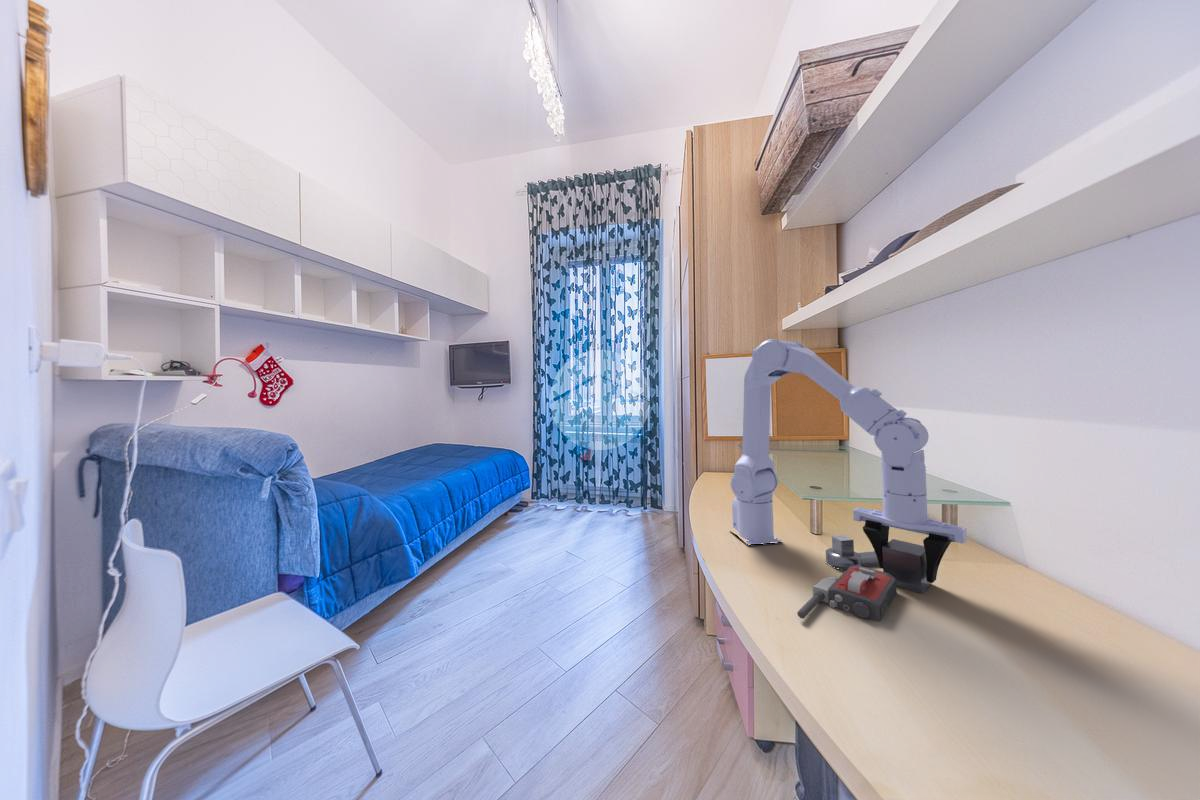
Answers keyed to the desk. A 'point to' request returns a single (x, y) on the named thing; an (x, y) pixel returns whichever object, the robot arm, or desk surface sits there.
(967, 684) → the desk surface
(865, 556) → the ratchet
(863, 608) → the walkie-talkie
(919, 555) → the dark grey block
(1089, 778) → the desk surface
